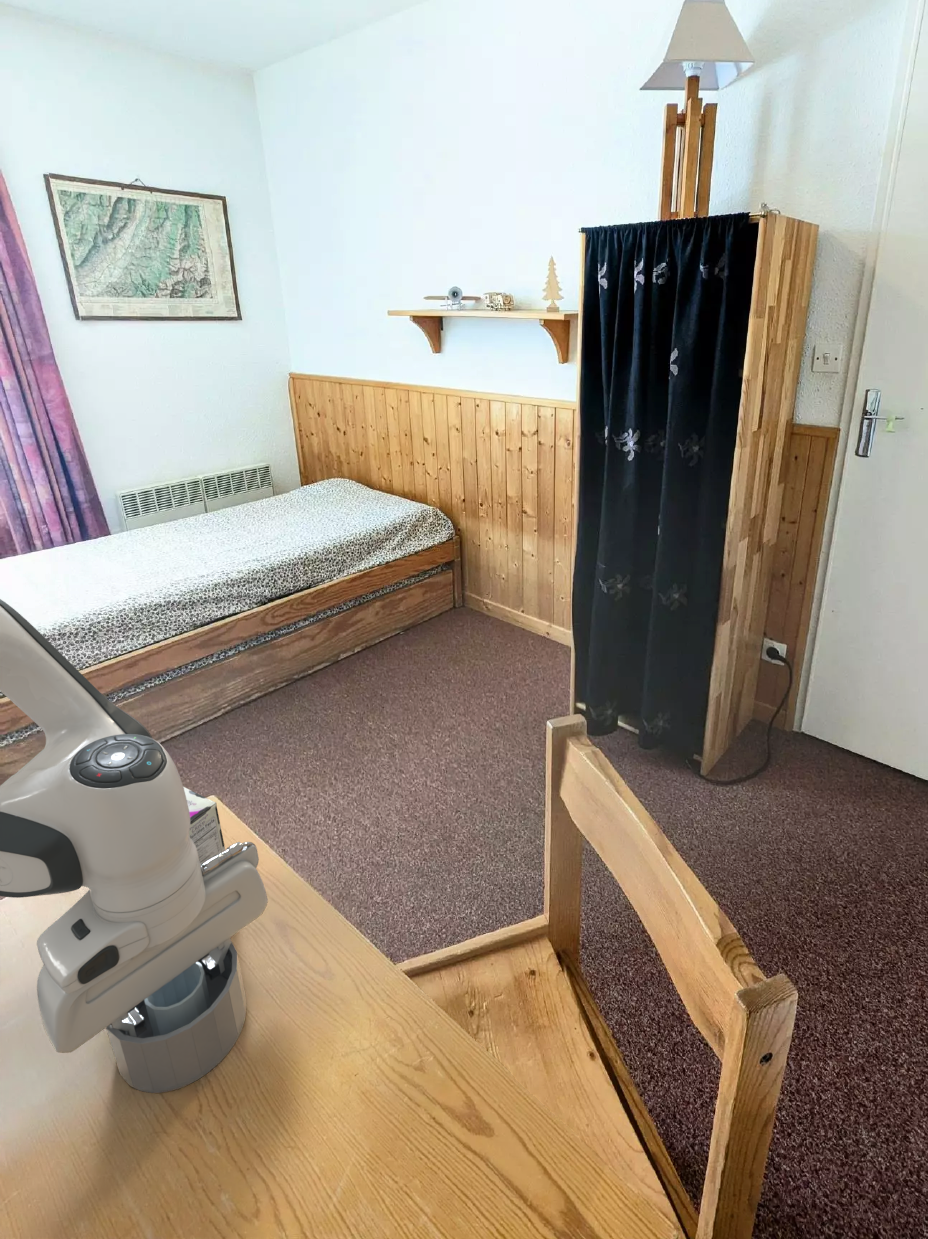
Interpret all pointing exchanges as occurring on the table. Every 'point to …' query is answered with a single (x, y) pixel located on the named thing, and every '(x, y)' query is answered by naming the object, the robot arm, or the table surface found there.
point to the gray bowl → (185, 1038)
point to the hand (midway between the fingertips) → (177, 1000)
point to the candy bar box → (204, 826)
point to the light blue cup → (178, 1001)
